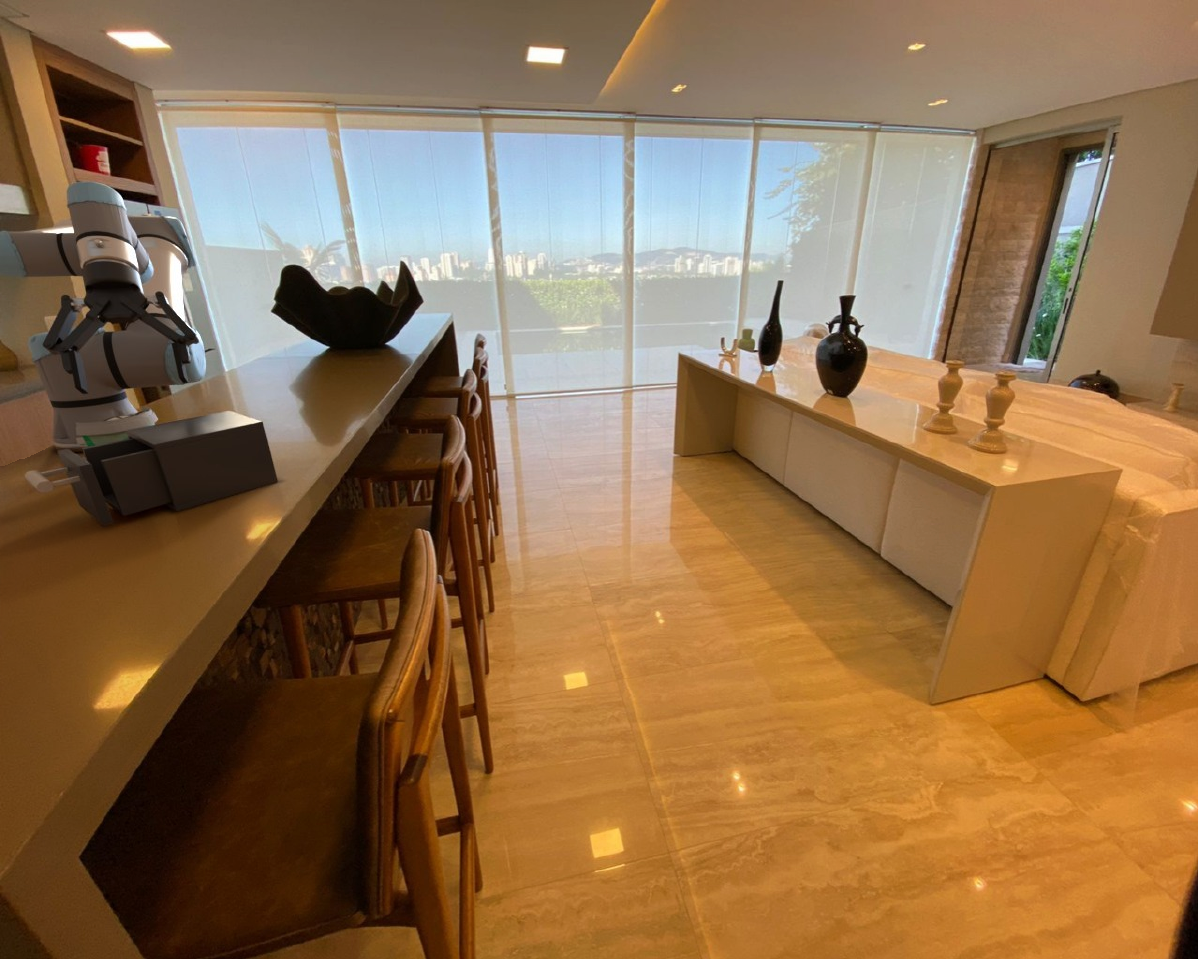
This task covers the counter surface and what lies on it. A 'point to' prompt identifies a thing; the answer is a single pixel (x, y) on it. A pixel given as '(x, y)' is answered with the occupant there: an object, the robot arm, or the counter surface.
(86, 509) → the drawer
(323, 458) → the counter surface
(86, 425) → the food container
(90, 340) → the robot arm
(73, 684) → the counter surface
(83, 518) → the counter surface
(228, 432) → the cabinet
